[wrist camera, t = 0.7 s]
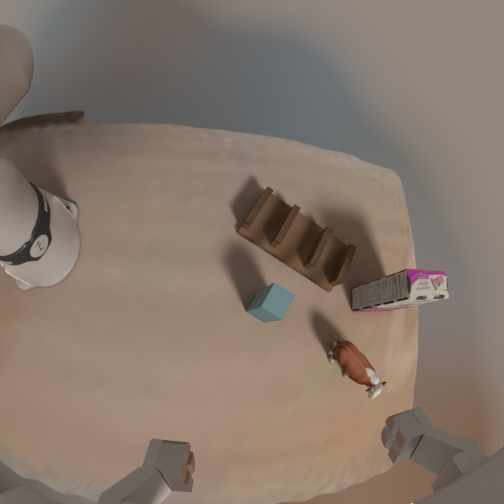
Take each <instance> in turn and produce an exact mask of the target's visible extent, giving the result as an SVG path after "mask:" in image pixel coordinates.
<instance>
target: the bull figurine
mask: <svg viewBox="0 0 504 504" xmlns="http://www.w3.org/2000/svg"><path fill="white" fill-rule="evenodd" d="M338 346H339V348H338V349H337V350H336V352H334V351H335V349H336V348H337V347H338ZM333 347H334V349H333V350H330V351H329V354H330V355H332V357H330V358H329V360H330V361H329V362H330V364H333V363H334V361H335V360H338V361H339V363H340V364H342V365H343V369H344V371H345V373H343V374H344V375H343V377H344V378H346V377H347V376H348V377H349V378H350V379H352V380H353V381H355V382H356V383H358V384H361V385H363V384H365V385H366V386H367V387H368V389H367V390H366V391H367V392H368V393H369V395H368V397H369V398H370V399H373V398H375V396H377V395H378V394H379V393H380V392H381V390H382V387H383V386H384V385H385V384H386V382H382V383H381V384H380V383H379V378H378V376H377V375H376V372H375V370H374V368H373V367H372V365H371V364H370V363H369V361H368V360H367V358H366V357H365V356H364V355H363V354H362V353H361V352H359V350H358V349H357V348H356V347H355V346H354V345H353V344H352V343H351V342H349V341H343V342H342V343H341V342H339V341H336V342H335V341H334V342H333ZM334 353H335V354H334Z"/></svg>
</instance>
